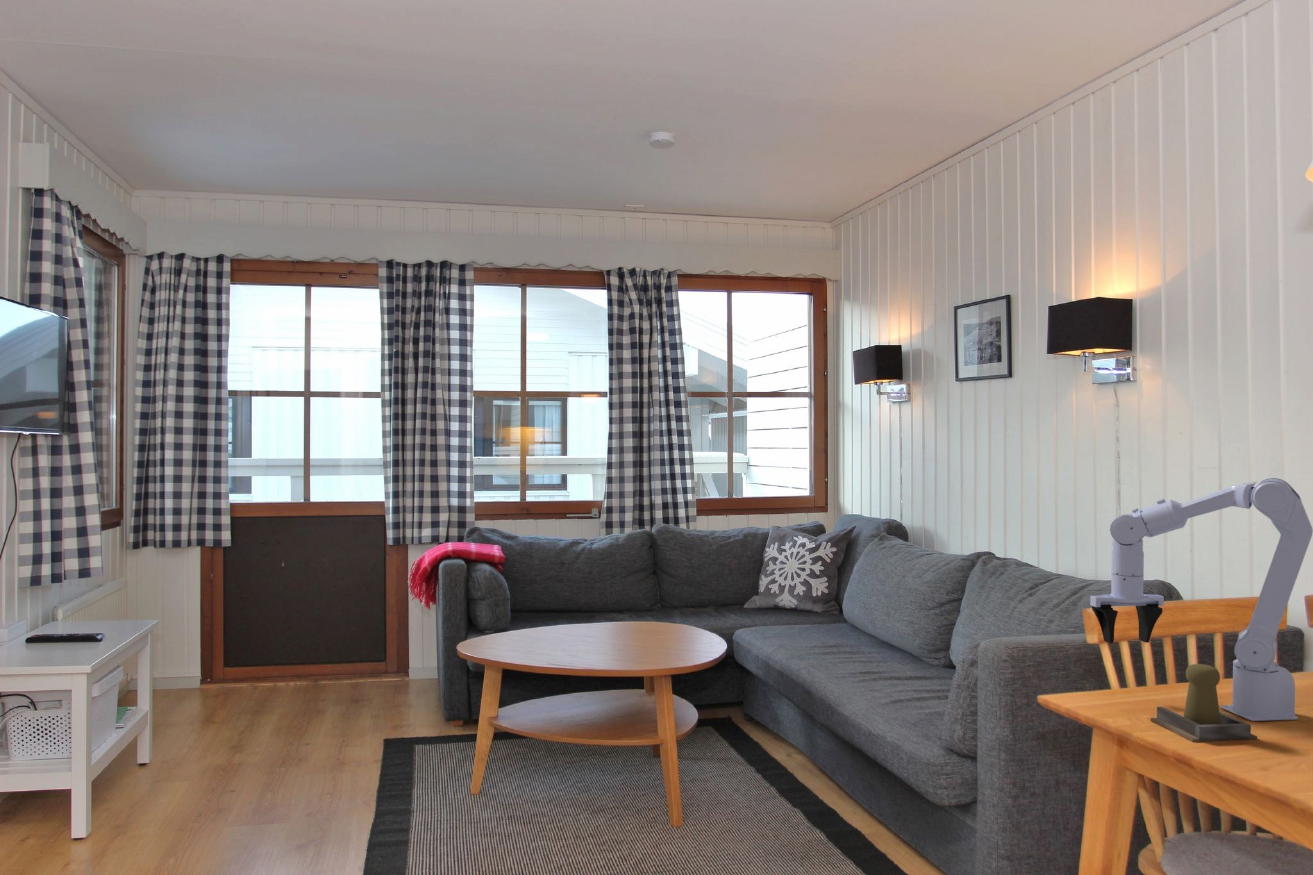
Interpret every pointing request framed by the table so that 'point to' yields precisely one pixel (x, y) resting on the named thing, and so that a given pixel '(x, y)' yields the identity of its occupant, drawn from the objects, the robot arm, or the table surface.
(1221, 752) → the table surface
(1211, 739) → the shaker socket
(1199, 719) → the olive rounded tapered post
